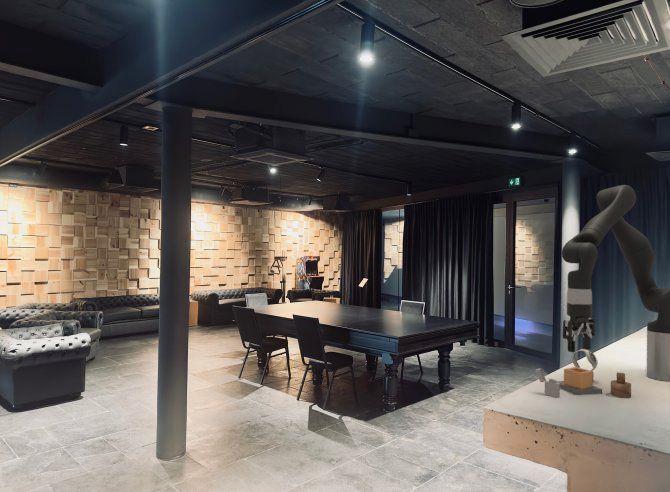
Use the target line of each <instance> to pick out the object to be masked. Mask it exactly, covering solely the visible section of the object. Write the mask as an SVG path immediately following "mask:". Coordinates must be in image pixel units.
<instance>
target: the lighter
mask: <svg viewBox="0 0 670 492" xmlns="http://www.w3.org/2000/svg"><path fill="white" fill-rule="evenodd" d="M535 374H536V375H537V377H538V379H539V382H540V383H543V382H544V395H545V396H548V397H552V398H557V399H560V396H561V388H560V383H557V381H558V380H556V379H555V378H549V379H548V380H547V379H546V376H545V375H544V372H543V370H542V368H541V367H540V368H536V369H535Z"/></svg>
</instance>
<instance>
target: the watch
mask: <svg viewBox="0 0 670 492" xmlns="http://www.w3.org/2000/svg"><path fill="white" fill-rule="evenodd" d="M578 352H584V354H585V357H586V359H587V362H588V363H589V364H590V365H591V366H592V368H591V370H590V371H593V372H594V370H595V369H596V368H597V366H598V358H597V357H596V355H595V353H594V352H593V351H590V350H587V349H584V348H581V349H578V350H575V352H573V353H572V356H571V361H572V364H573V365H574V367H577V368H581V366H580V364H579V362H578V359H577V358H576V355H577V353H578Z"/></svg>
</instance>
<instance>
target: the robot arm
mask: <svg viewBox="0 0 670 492" xmlns="http://www.w3.org/2000/svg"><path fill="white" fill-rule="evenodd" d="M636 201H637V195H636V192H635V190H634V189H633V187H631V186H630V185H628V184H621V185H616V186H612V187H608V188H606V189H602V190H599V192H598V193H597V194H596V203H597V206H598V208H599V210H600V213H598V214H596V215H595V216H594V217H592V218H591V219H590V220H589V221H588V222H587V223H586V224H585V225H584V227H583V228H582V229H581V230H580V233H578V234H577V235H575V236H573V237H572V238H571V239H569V240H568V241H567V242H566V243H565V244H564V245H563V247H562V248H561V258H562V259H563V261H565V262H566V263H568V264H580V266H579V268H578V269H575V270H570V271H568V274H567V290H566V315H567V316H569V320H563V323H562V338H563V339H565V340H567V351H568V352H570V353H574V352H576V339H577V337H578V336H579V335H580V334H582V337H583V338H582V342H583V343H582V347H583V348H582V349H585V350H589V351H590V350H591V347H592V343H591V341H592V338H593V337H595V336H596V320H595V318H592V316H593V291H592V275H593V272H594V269H595V265H596V263H597V260H598V253H599V252H598V248H597V247H598V246H599V245H600V244H601V242H602V241H603V240H604V238H605V237H606V235H607V234H608V232H609V231H610V229H611V231H612V233H613V235H614V237H615V240H616V241H617V243H618V246H619V249H620V251H621V253H622V256H623V258H624V260H625V262H626V263H627V266H628V268H629V271H630V272H631V275H632V277H633V280H634V282H635V285H636V288H637V292H638V295H639V298H640V301H641V303H642V305H643V307H644V308H645V309H646V310H647V311H649V312H653V313H657V317H656V319H655V320H653V321H649V322H647V324H646V377H647V378H650V379H653V380H658V381H665V382H670V288H663V287H662V288H660V287H658V285H657V283H656V281H655V279H654V277H653V268H654V263H655V252H654V250H653V248H652V245H651V243H650V241H649V239H648V237H646V235H644V234H643V233H642V232H641V231H639V230H638V229H637V228H635V227H633V226H632V225H631V224H629V223H628V222H627V221H626V220H625V218H624V216H625V215H626V214H627V213H628V212H629V211H630V210H631V209H632V208H633V207H634V206H635V204H636Z"/></svg>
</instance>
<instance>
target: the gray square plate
mask: <svg viewBox="0 0 670 492" xmlns="http://www.w3.org/2000/svg"><path fill="white" fill-rule="evenodd" d="M556 381H557V383H560V390H561V389H562V390H563V391H566V392H567V393H570V394H572V395H573V396H574V395H576V396H577V395H580V396H581V395H602V394H603V388H600V387H599V386H595V385H593V386H592V387H588V388H583V389H580V388H577V387H573V386H570V385H566V384H564V380H556Z"/></svg>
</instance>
